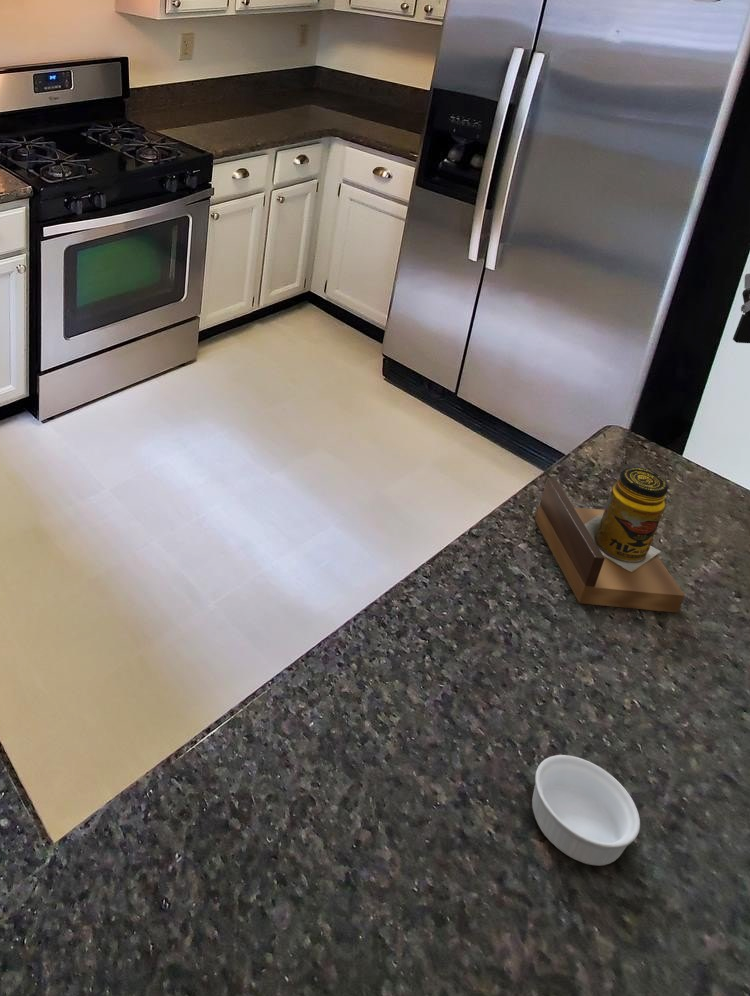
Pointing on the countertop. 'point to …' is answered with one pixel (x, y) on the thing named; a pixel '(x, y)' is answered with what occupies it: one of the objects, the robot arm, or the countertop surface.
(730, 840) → the countertop surface
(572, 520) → the shelf
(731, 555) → the countertop surface
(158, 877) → the countertop surface
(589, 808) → the ramekin
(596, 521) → the condiment
